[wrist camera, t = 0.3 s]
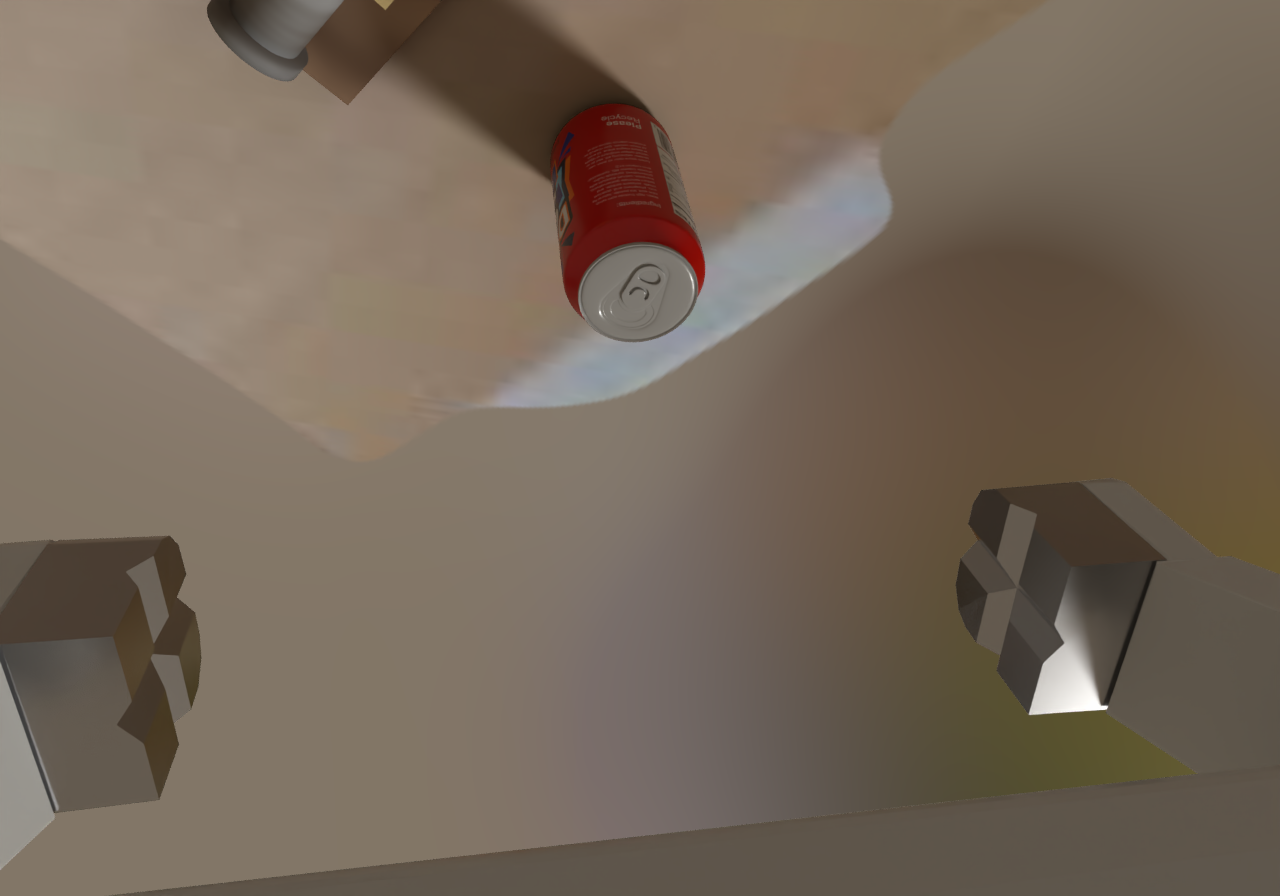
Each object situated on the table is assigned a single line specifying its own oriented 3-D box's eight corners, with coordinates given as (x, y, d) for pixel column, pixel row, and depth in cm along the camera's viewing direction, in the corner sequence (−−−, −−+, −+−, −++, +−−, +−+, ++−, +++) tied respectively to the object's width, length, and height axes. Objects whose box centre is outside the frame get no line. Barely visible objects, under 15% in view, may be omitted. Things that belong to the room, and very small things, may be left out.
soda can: (693, 127, 61) (739, 266, 51) (633, 224, 66) (664, 369, 56) (583, 74, 58) (608, 211, 48) (528, 180, 63) (540, 326, 52)
